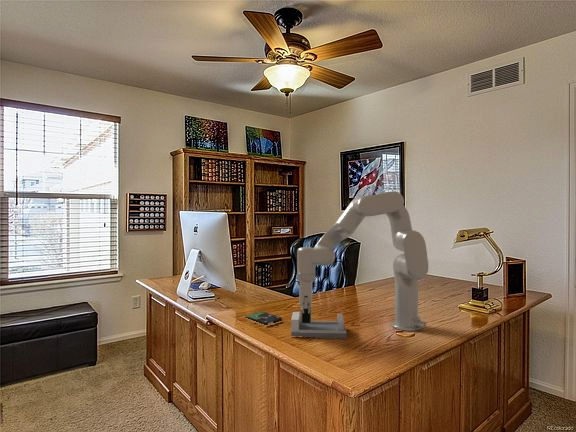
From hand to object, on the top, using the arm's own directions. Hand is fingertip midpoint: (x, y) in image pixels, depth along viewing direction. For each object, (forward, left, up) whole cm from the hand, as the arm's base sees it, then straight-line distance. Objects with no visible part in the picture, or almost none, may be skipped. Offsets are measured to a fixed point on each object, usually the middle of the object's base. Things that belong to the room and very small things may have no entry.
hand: (306, 320), depth 151 cm
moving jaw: (-10, -10, -3) cm, 14 cm away
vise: (-4, -4, -5) cm, 7 cm away
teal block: (0, 0, -1) cm, 1 cm away
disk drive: (+24, +4, -6) cm, 25 cm away
